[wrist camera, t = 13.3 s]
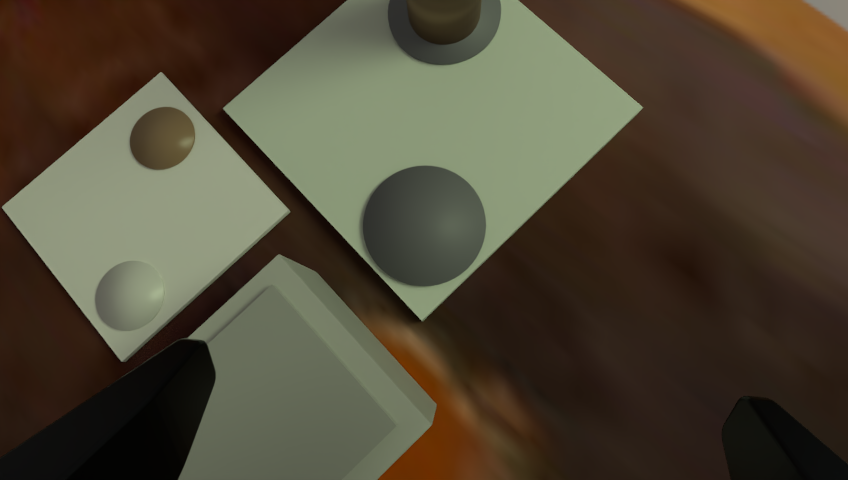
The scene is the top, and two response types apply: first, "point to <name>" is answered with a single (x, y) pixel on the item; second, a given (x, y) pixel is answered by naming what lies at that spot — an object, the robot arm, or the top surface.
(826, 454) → the robot arm
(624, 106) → the board
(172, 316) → the card
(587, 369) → the top surface
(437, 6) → the pin
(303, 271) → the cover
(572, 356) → the top surface
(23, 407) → the top surface
